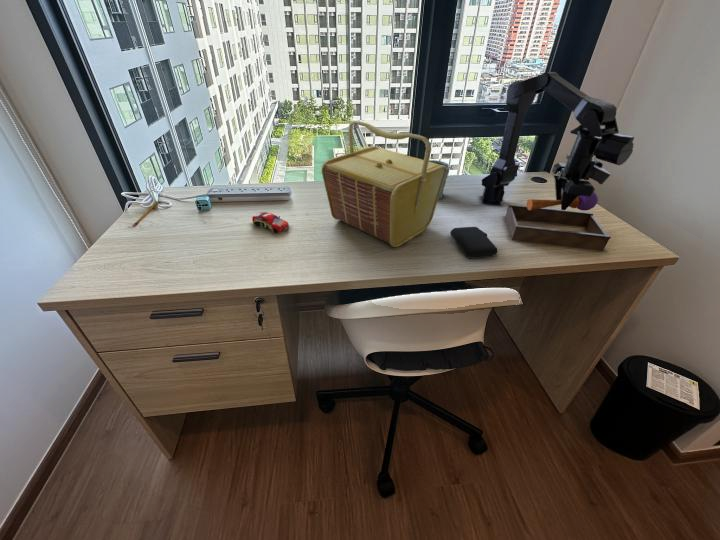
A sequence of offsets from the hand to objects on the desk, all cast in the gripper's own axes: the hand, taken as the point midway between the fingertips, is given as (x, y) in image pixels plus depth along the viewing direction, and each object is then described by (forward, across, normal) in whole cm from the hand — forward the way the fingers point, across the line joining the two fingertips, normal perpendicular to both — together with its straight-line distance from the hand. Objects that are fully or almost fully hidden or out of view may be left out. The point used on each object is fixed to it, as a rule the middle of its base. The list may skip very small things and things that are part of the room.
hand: (560, 205), depth 100 cm
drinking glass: (+10, +19, +38) cm, 44 cm away
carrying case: (+9, -15, +24) cm, 30 cm away
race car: (+10, -19, +87) cm, 90 cm away
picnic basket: (+10, -9, +53) cm, 55 cm away
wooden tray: (+9, 0, 0) cm, 9 cm away
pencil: (+10, -20, +132) cm, 134 cm away
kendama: (+1, 0, 0) cm, 1 cm away
